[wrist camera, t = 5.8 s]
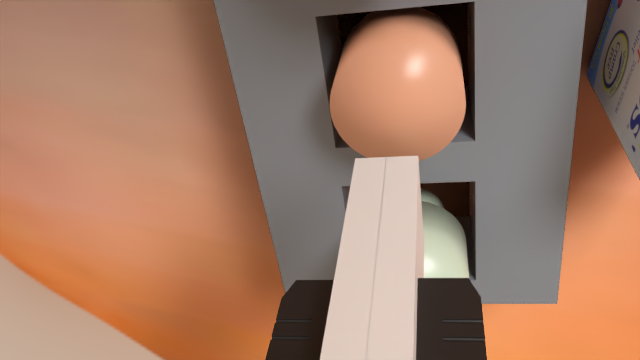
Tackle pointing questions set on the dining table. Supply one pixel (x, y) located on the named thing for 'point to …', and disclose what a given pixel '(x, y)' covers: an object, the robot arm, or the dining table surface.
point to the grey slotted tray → (445, 166)
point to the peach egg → (399, 85)
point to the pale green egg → (442, 240)
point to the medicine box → (620, 74)
